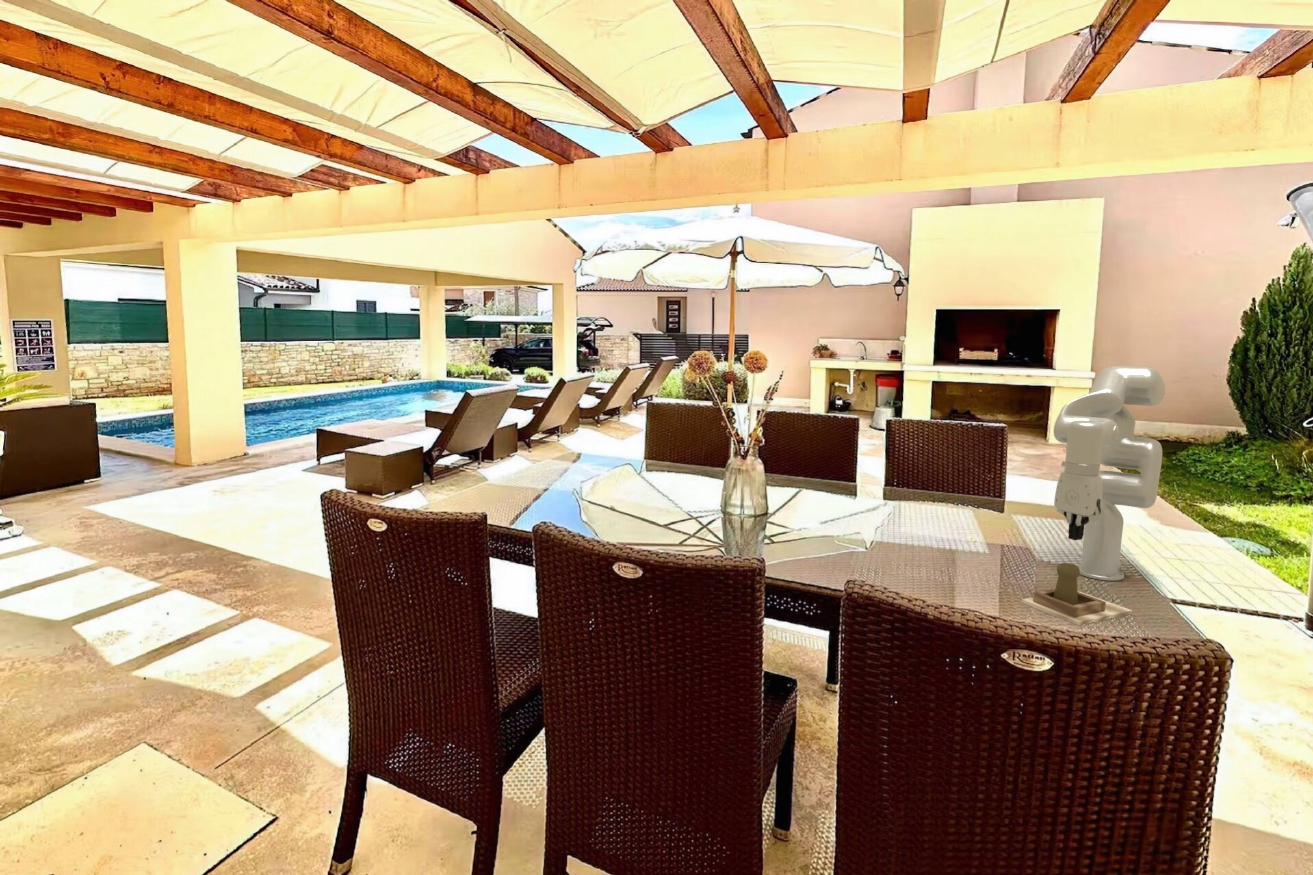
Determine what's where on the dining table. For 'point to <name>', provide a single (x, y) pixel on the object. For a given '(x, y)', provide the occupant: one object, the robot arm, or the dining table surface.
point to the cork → (1067, 583)
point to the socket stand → (1076, 607)
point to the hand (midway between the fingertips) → (1075, 538)
